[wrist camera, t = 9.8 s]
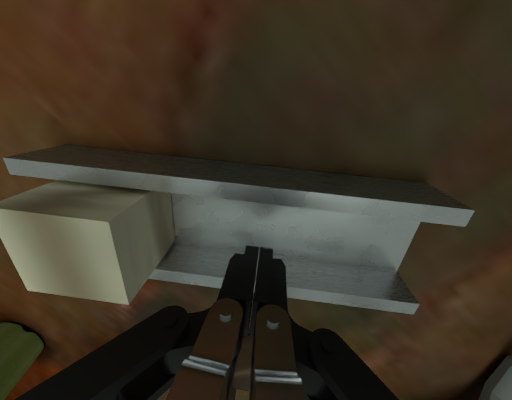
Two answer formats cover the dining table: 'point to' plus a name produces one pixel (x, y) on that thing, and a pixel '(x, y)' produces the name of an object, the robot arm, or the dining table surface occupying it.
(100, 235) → the block
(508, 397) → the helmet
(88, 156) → the chute
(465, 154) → the dining table surface
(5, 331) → the plant pot
